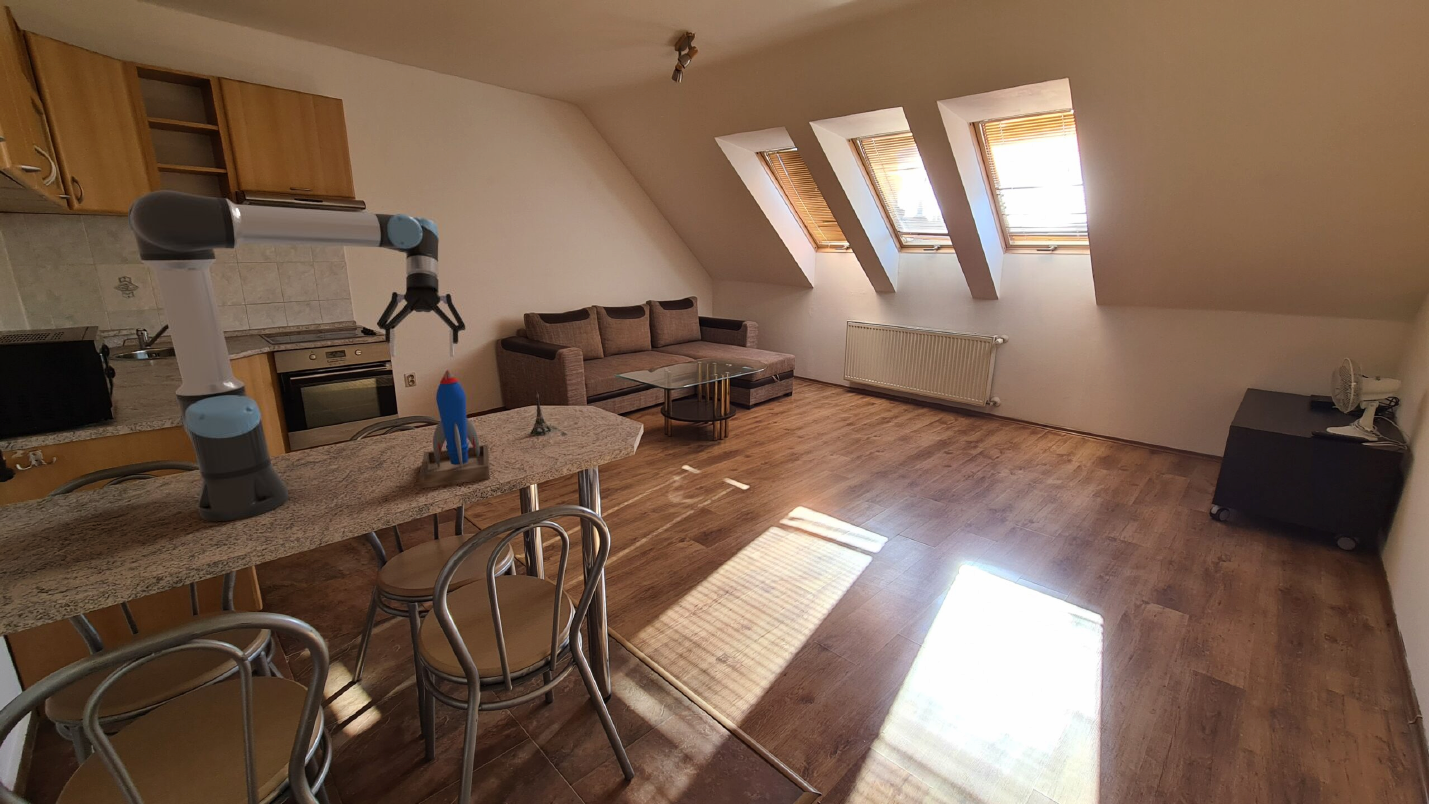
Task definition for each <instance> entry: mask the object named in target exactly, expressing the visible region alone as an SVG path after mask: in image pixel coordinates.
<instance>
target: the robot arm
mask: <svg viewBox="0 0 1429 804" xmlns="http://www.w3.org/2000/svg"><path fill="white" fill-rule="evenodd" d="M127 215H128V217H127V218H128V225H129V227H130V229H131V230H132V232H133V234H134V239H135V242H136V245H137V249H138V252H139V257H140V260H141V263H142V264H144V265H146V266H148V267H149V268H151V269H152V270H153V271H154V275H155V278H156V283H157V287H158V292H159V295H160V299H161V301H162V302H161V303H162V306H163V310H164V314H165V318H166V322H167V326H168V329H169V334H170V337H171V342H172V346H173V349H174V353H175V357H176V361H177V364H178V365H177V366H178V369H179V373H180V377H181V381H182V384H181V385H180V386H179V387H178V388H177V389H176V390H175V394H176V395H175V396H176V398H177V403H178V407H179V410H180V417H179V418H180V423H181V426H182V428H183V429H184V431H185V432H186V434H187V435H188V437H189V439H190V441H191V443H192V447H193V450H194V453H195V458H196V461H197V465H198V469H199V471H200V476H201V480H202V481H201V487H200V492H199V498H198V504H197V505H198V512H199V515H200V518H201V519H202V520H204V521H207V522H230V521H237V520H241V519H247V518H251V517H255V516H258V515H261V514H265V513H268V512H269V511H272V510H274V509H277V508H279V506H282V505H283V504H284V503H286V502H287V501H288V499H289V490H288V487H287V485H286V483H285V482H284V481H283V479H282V478H281V477H280V476H279V474H278V472H277V471H276V469H275V468H274V466H273V465H272V462H271V457H270V452H269V447H268V443H267V440H266V439H267V438H266V435H265V432H264V425H263V422H262V412H261V410H260V408H259V406H258V404H257V401H255V400H254V398H253V399H252V398H251V397H250V396H249V397H248V395H247V391H246V387H245V383H244V382H243V381H241V380H240V379H237V378H236V377H235V376H234V372H233V369H232V365H231V360H230V356H229V355H230V354H229V352H228V351H229V350H228V347H227V346H228V345H227V342H226V338H225V334H224V329H223V325H222V320H221V317H220V311H219V308H218V304H217V298H216V294H215V290H214V286H213V282H212V278H211V277H212V276H211V273H210V267H211V266H212V265H213V264H214V263H215V262H216V261H217V258H216V253H215V250H217V249H219V250H220V249H233V250H234V249H236V248H238V247H239V246H240V245H242V244H244V245H275V246H276V245H279V246H280V245H283V246H313V247H314V246H317V247H318V246H323V247H354V248H355V247H358V248H361V247H363V248H370V247H371V248H383V249H388V250H391V251H397V252H399V253H403V254H406V258H405V259H406V262H405V264H406V265H405V267H406V268H405V269H406V270H405V272H406V276H405V277H406V278H405V279H406V280H405V281H406V284H405V285H406V286H405V289H406V290H405V293H404V294H403V293H398V292H396V291H393V292H392V294H391V299H390V301H389V303H388V305H387V306H386V308H385V309H384V311H383V313H382V314H381V316H380V318H379V319H378V320H377V322H376V325H377V327H378V329H380V330H383V331H384V332H385V333H384V334H385V336H384V337H385V339H384V340H385V342H386V343H387V344H389V355H390V356H391V357H392V358H396V331H395V328H397V326H399V324H400V323H401V322H403V321H404V320H405V318H406V317H408V316H409V315H410V314H411V313H413V312H414V311H415V312H416V313H422V312H424V313H431V312H434V314H436V315H437V316H438V318H440V319H441V320H442V321H443V322H444V324H445V325H446V326H448V327H449V328H450V329H449V330H448V331H449V356H450V357H451V358H454V357H455V354H454V353H455V349H454V348H455V346H454V345H458V344H459V332H461V331H465V330H466V325H465V322H464V321H463V319H462V317H461V315H460V314H459V312H458V310H457V308H456V306H455V305H454V304H453V299H452V295H451V293H446V294H445V295H440V293H439V243H440V242H439V241H440V238H439V230H438V226H437V224H436V223H435V222H433V221H432V220H431V219H429V218H425V217H422V218H421V217H417V216H416V217H413V216H411V215H407V214H401V213H397V214H388V213H387V214H386V213H373V212H368V211H362V210H361V211H359V212H355V211H344V210H343V211H340V210H327V209H324V210H323V209H311V208H307V209H306V208H295V207H281V206H268V205H267V206H264V205H253V204H252V205H251V204H250V205H249V204H236V203H234V202H232V201H231V200H230V199H228V198H224V197H213V196H212V197H211V196H205V195H204V196H203V195H197V194H191V193H187V192H181V191H176V190H172V189H171V190H169V189H166V190H164V189H163V190H162V189H160V190H156V191H151V192H148V193H146V194H143V195H142V196H141V195H140V196H139V197H138V198H136V199H135V200H134V201H133V203H131V206H130V208H129V210H128V214H127ZM402 301H405V302H406V304H405V305H404V306H403V307H402V308H401V310H399V311H398V313H396V315H395V316H393V317H392V315H393V314H394V313H395V311H396V310H397V307H398V305H399V304H400V303H402ZM441 301H442V302H443V304H444V305H447V308H448V309H449V311H450V312H451V314H452V316H453V317H454V319H455V320H454V321H456V323H457V324H456V323H455V322H453V320H452V319H451V318H450V317H449V316H448V315H447V314H446V313H445V312H444V311H443V310H442V309H441V307H440V306H439V304H440V302H441ZM391 317H392V318H391Z"/></svg>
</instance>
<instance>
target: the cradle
mask: <svg viewBox="0 0 1429 804" xmlns="http://www.w3.org/2000/svg"><path fill="white" fill-rule="evenodd" d="M468 448H469V450H468V451H467V453H468V462H466V463H464V464H462V466H463V468H461V466H460V465H453V464H451V462H450V456H449V454H448V453H447V449H446V448H445V449H442V450H441V455H440V468H439V467H438V465H437V463H436V460H435V456H434V451H433V450H429V451H424V453H423V457H422V461H421V465H420V470H419V473H418V477H419V484H420V489H427V488H433V487H434V488H435V487H440V486H447V485H453V484H454V485H455V484H462V482H463V483H468V482H469V483H470V482H475V481H483V480H489V479H491V475H490V474H491V473H490V472H491V471H490V455H489V446H488V443H486V444H479V449H480V454H479V461H478V459H477V456H476V453H475V450H474V448H473V446H472V445H471V446H470V445H469V446H468Z"/></svg>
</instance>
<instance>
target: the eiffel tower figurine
mask: <svg viewBox="0 0 1429 804" xmlns="http://www.w3.org/2000/svg"><path fill="white" fill-rule="evenodd" d="M539 396H540V395H539V394H538V392H536V416H535V422H534V424H533V427H532V430H531V431H530V433H529V434H528V435H529V436H541V437H542V436H545V437H546V436H548V435H549V434H550V433H551V432H552V431H558V432H562V433H561V434H560V436H562V437H565V436H568V435H569V434H568V433H566V432H564V431H563V430H561V429H559V428H557V427H556V426H554V425H548V424H547V421H545V419H544V417H543V414H542V410H541V405H540V398H539ZM526 428H528V427H526V426H525V427H522V428H517V430H518V431H520V430H524V429H526Z"/></svg>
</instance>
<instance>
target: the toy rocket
mask: <svg viewBox="0 0 1429 804" xmlns="http://www.w3.org/2000/svg"><path fill="white" fill-rule="evenodd" d="M435 395H436V396H435V401H436V404H437V409H438V413H439V417H440V421H439V422H438V423H437V425H436V427H435V429H434V433H433V436H432V447H433V448H432V449H433V450H432V451H434V456H435V460H436V463H437V465H438V467H439V468H440V455H441V450H443V447H444V446H443V445H444V443H445V442H446V445H445V449H447V453H448V454H449V456H450V462H451V464H453V465H460V466H461V468H463V466H462V464H464V463H466V462H468V453H467V451H468V450H469V448H468V447H469V446H470V444H471V446H473V448H474V450H475V453H476V456H477V459H478V461H479V454H480V449H479V445H480V442H479V436H478V433H477V430H476V427H475V426H474V425H473V423H472V421H470V420H469V419H468V417H467V398H466V397H467V395H466V393H465V390H464V388H463V387H462V385H461V384H460V382H459V381H458V379H457V378H456V377H455V375H453V374H452V372H451V371H449V370H448V369H447V370H446V371H445V372H444V374H443V377H442V378H441V379H440V381H439V385H438V388H437V391H436V394H435ZM468 441H469V442H470V444H469V442H468Z"/></svg>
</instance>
